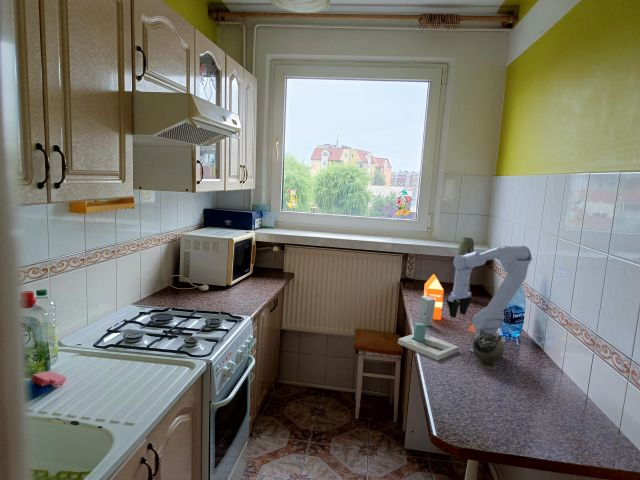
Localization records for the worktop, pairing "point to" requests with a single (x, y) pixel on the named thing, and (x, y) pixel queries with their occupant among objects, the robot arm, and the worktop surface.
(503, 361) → the worktop surface
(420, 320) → the skincare box
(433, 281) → the orange juice
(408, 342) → the white rectangular frame
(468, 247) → the thermos
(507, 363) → the worktop surface
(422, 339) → the teal peg
